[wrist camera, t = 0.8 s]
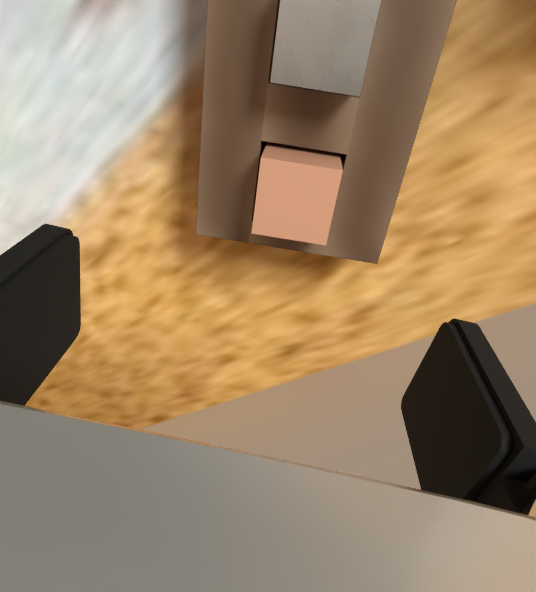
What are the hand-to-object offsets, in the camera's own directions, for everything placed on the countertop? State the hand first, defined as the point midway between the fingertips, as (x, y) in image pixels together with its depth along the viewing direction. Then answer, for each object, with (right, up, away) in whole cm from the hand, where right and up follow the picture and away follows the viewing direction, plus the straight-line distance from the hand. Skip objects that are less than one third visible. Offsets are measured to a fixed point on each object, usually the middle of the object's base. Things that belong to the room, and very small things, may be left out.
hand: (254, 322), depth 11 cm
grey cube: (+3, +15, +12) cm, 19 cm away
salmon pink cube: (+2, +8, +16) cm, 18 cm away
